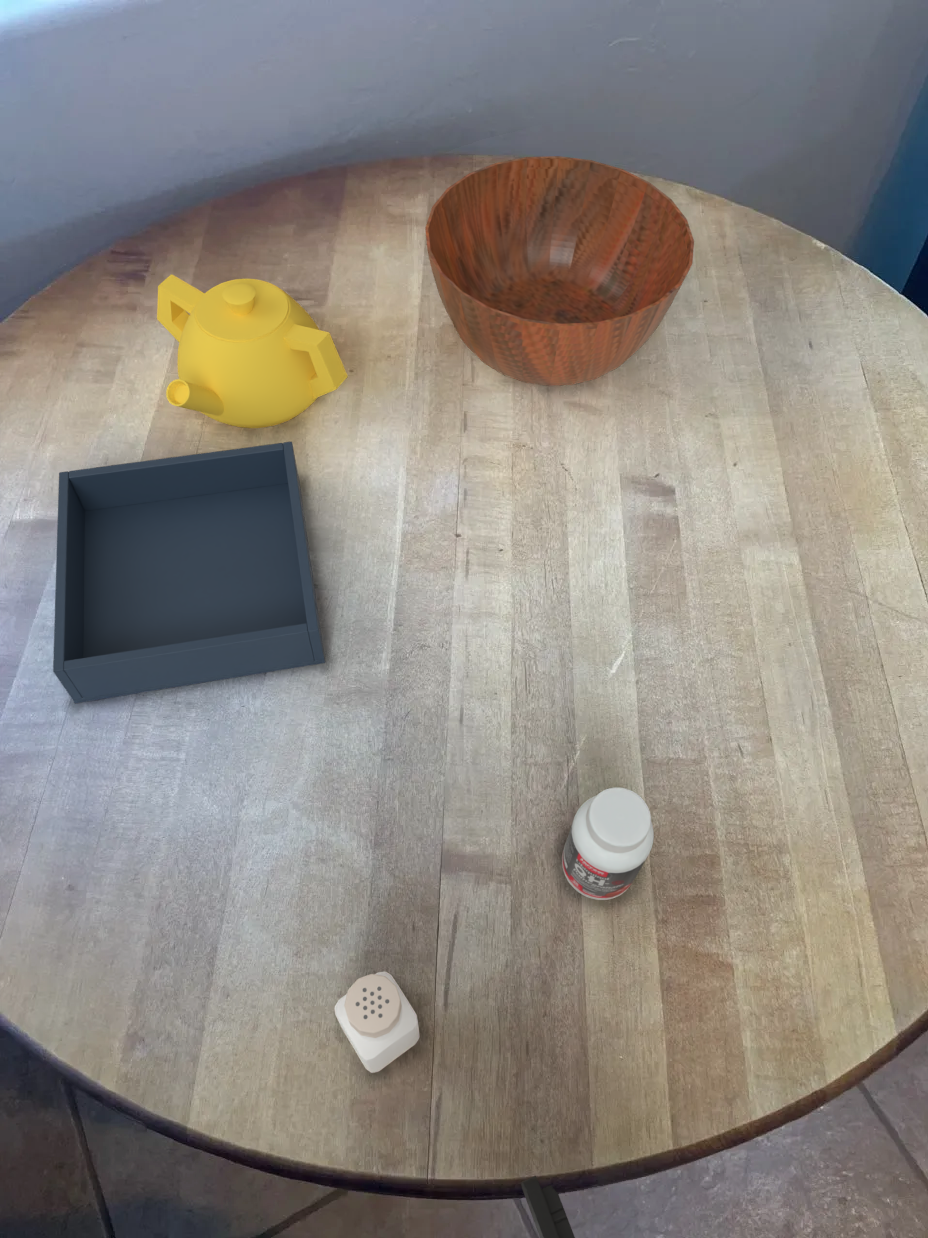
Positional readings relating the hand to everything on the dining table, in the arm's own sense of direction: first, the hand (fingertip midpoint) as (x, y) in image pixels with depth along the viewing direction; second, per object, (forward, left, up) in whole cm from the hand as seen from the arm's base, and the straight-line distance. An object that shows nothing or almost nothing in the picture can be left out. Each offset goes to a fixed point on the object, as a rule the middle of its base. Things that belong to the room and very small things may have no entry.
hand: (444, 1217), depth 46 cm
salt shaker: (-2, +11, -14) cm, 18 cm away
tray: (-12, +49, -14) cm, 52 cm away
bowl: (+25, +74, -14) cm, 79 cm away
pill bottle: (+15, +19, -14) cm, 28 cm away
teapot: (-6, +70, -14) cm, 72 cm away
